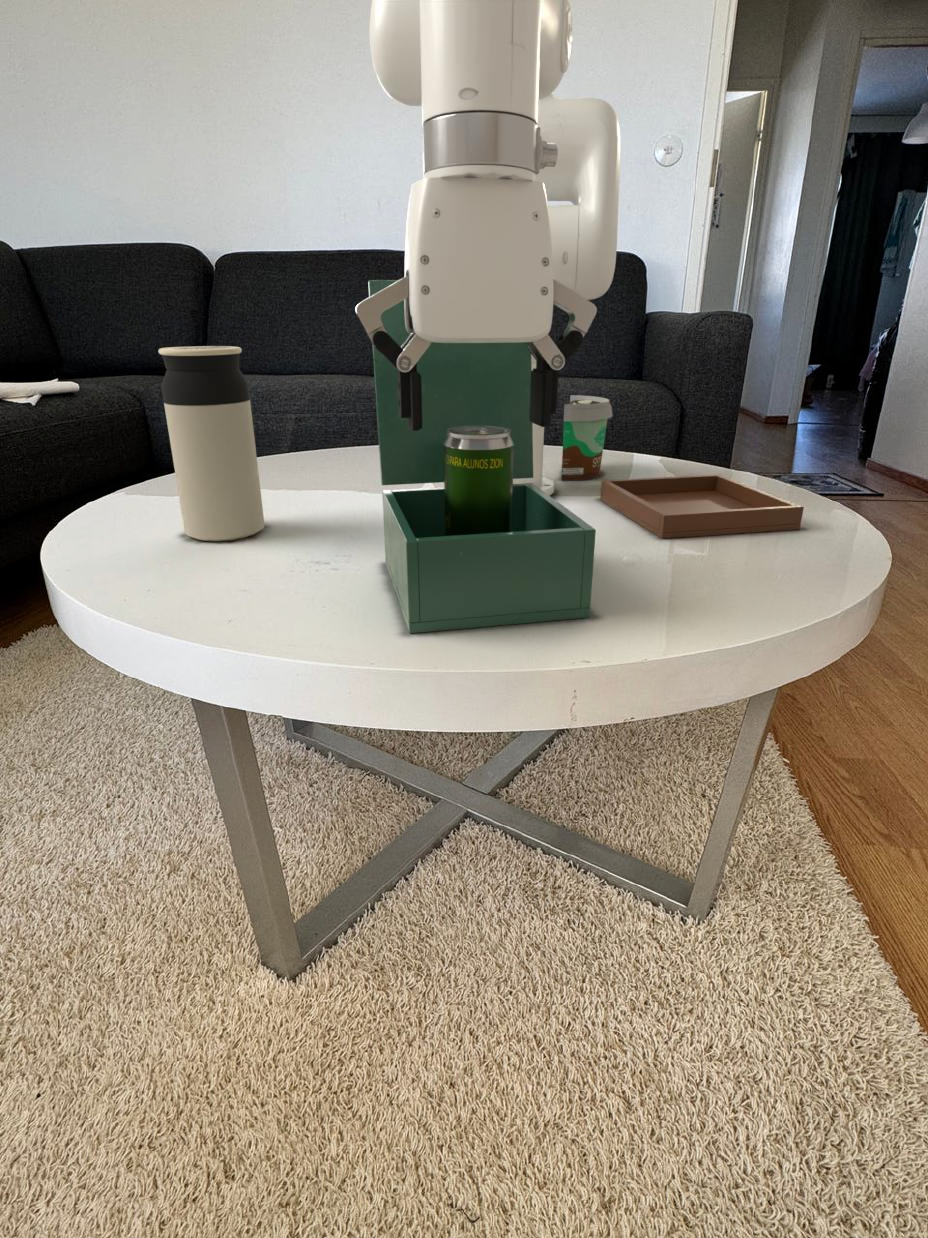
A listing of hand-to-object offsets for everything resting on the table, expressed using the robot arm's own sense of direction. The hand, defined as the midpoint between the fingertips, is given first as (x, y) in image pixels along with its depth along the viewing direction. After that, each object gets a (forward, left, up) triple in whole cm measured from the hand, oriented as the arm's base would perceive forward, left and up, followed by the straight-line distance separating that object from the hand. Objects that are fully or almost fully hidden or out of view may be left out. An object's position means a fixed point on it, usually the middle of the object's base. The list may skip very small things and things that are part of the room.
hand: (478, 426), depth 54 cm
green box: (0, 0, -13) cm, 13 cm away
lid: (-9, 0, +2) cm, 10 cm away
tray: (-18, +29, -13) cm, 37 cm away
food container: (-41, +25, -13) cm, 50 cm away
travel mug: (-22, -22, -13) cm, 34 cm away
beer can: (0, 0, -13) cm, 13 cm away
